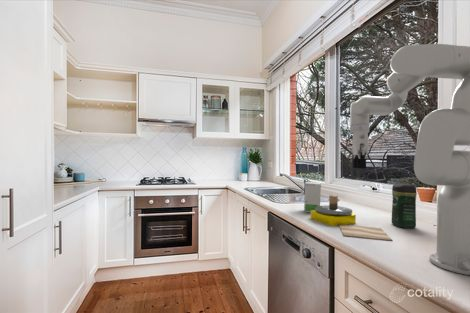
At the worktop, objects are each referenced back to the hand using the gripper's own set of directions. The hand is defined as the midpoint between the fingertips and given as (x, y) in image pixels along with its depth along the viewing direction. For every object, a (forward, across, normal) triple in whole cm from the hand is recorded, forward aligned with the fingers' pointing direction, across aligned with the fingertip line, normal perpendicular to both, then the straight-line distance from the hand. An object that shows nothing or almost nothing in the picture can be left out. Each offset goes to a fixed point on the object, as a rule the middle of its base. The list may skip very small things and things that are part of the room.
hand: (359, 168), depth 111 cm
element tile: (+25, +4, +10) cm, 28 cm away
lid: (+20, +4, +10) cm, 23 cm away
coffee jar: (+25, +5, -19) cm, 32 cm away
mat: (+25, -12, +1) cm, 28 cm away
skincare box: (+24, +22, +19) cm, 38 cm away
